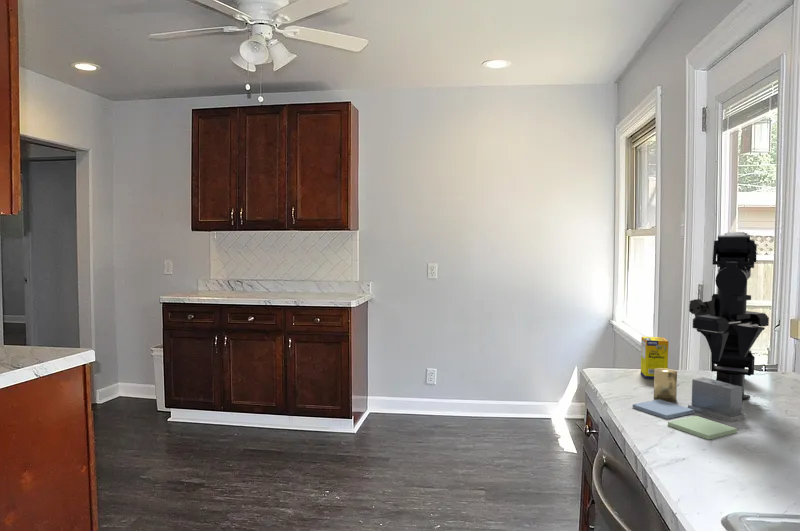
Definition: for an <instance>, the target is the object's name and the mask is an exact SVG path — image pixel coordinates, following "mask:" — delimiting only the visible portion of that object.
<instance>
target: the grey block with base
mask: <svg viewBox="0 0 800 531" xmlns="http://www.w3.org/2000/svg"><path fill="white" fill-rule="evenodd" d="M687 408H690V409H693V410H694V412H695V413H700V414H702V415H707V416H709V417H711V418H712V417H713V418H716V419H719V420H722V421H725V422H729V423H732V422H737V421H741V420H745V419H746V414H745V413H743V412H742V410H743V409H742V408H743V399H742V386H737V385H733V384H729V383H725V382H721V381H717V380H716V379H712V378H709V377H700V378H699V377H698V378H693V379H692V381H691V404H688V406H687Z"/></svg>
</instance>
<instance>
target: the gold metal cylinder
mask: <svg viewBox="0 0 800 531" xmlns="http://www.w3.org/2000/svg"><path fill="white" fill-rule="evenodd" d="M677 385H678V371H677V370H675V369H671V368H668V369H667V368H656V369H654V379H653V399H654V400H658V399H660V400H663V401H667V402H670V403H674V402H677V395H678V394H677V392H678V390H677V389H678V387H677Z"/></svg>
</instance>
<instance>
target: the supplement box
mask: <svg viewBox="0 0 800 531" xmlns="http://www.w3.org/2000/svg"><path fill="white" fill-rule="evenodd" d="M640 342H641V345H640V349H641V350H640V374H641V376H643V378H644V379H647V380H648V379H649V380H654V369H656V368H667V369H669V367H668V365H669V340H667V339H666V338H664V337H662V336H661V337H659V336H641V341H640Z"/></svg>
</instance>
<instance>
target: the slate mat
mask: <svg viewBox="0 0 800 531" xmlns="http://www.w3.org/2000/svg"><path fill="white" fill-rule="evenodd" d="M632 408H633V409H635V410H638V411H641V412H644V413H647V414H650V415H654V416H657V417H659V418H662V419H666V420H668V419H673V418H677V417H678V418H679V417H681V416H688V415H692V414H694V413H695V411H694V410H693V409H690V408H688V406H686V407H685V406H683V405H679V404H676V403H674V402H667V401H663V400H660V399H658V400H656V399H654V400H648V401H643V402H637V403H633V404H632Z"/></svg>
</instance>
